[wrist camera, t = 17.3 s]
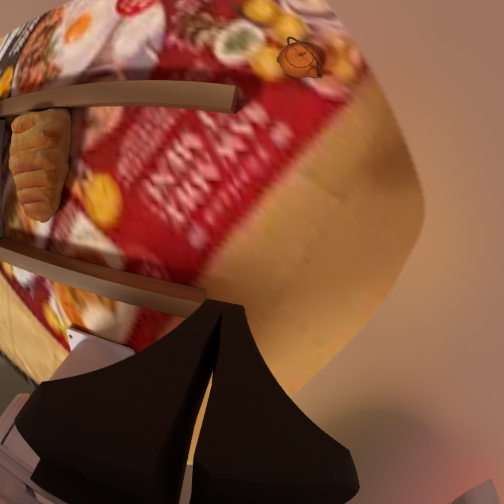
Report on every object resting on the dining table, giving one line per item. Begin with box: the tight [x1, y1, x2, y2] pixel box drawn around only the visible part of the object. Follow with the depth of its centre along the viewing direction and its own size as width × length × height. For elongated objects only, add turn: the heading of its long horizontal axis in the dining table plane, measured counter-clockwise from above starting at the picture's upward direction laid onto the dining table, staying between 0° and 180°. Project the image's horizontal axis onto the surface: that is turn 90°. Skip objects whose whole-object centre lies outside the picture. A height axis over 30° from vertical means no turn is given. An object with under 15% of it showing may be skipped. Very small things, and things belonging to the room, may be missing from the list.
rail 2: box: [0, 237, 206, 318], centre depth 19 cm, size 2×26×2 cm, turn 79°
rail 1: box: [0, 80, 239, 118], centre depth 15 cm, size 2×26×2 cm, turn 80°
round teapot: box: [277, 37, 322, 79], centre depth 14 cm, size 3×3×3 cm
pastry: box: [9, 108, 72, 223], centre depth 16 cm, size 9×7×4 cm
